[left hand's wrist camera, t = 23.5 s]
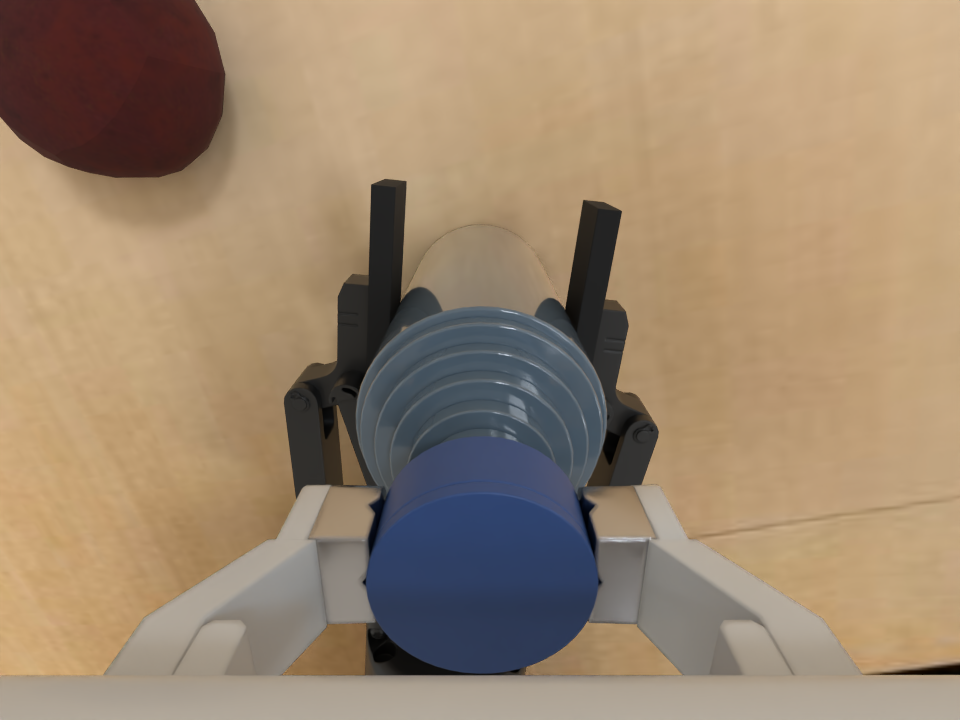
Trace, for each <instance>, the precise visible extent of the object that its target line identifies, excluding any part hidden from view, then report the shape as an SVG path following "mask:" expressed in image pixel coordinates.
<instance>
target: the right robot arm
mask: <svg viewBox="0 0 960 720" xmlns="http://www.w3.org/2000/svg"><path fill="white" fill-rule="evenodd" d="M406 182H407V181H399V180H390V179H384V180H382V181H379V182H377V183H374V184H372V185H371V214H370V249H369V276H367V275H357V274H352V275H351V276H350V277H349V278H348V280H347V281H346V282H345V283H344V284H343V286H342V289H341V291H340V293H339V296H338V352H337V361H335V362H333V363H329V364H325V365H324V364H321V363H314V364H311V365H309V366H308V367H307V368H306V369H305V370H304V372H303V373H302V374H301V375H300V377H299V378H298V379H297V381H296V382H295V383H294V384H293V386H292V387H291V388H290V390H289V391H288V392H287V394H286V396H285V398H284V406H285V414H286V422H287V430H288V438H289V446H290V454H291V462H292V469H293V477H294V485H295V493H296V499H297V497H298V495H299V493H300V492H301V490H302V488H303V487H305V486H306V485H332V486H333V485H343V476H342V465H341V454H340V442H339V431H338V420H337V408H336V405H338V406H339V408H340V411H341V414H342V417H343V420H344V422H345V425H346V428H347V431H348V434H349V436H350V439H351V442H352V445H353V448H354V450H355V453H356V456H357V459H358V462H359V464H360V467H361V470H362V473H363V476H364V478H365V481H366V484H367V486H377V484H376V483H375V481H374V480H373V478H372V476H371V474H370V472H369V470H368V468H367V465H366V462H365V459H364V457H363V455H362V451H361V448H360V445H359V442H358V437H357V431H356V405H357V398H358V394H359V391H360V387H361V384H362V381H363V379H364V377H365V375H366V372H367V370H368V368H369V366H370V364H371V362H372V360H373V358H374V356H375V354H376V352H377V350H378V348H379V346H380V344H381V341H382V339H383V337H384V335H385V333H386V331H387V329H388V327H389V325H390V323H391V321H392V319H393V317H394V315H395V313H396V311H397V309H398V307H399V305H400V301H401V282H402V262H403V242H404V222H405V202H406ZM621 213H622V211H621V210H619V209H617V208H615V207H612V206H610V205H608V204H606V203H604V202H597V201H587V200H583V205H582V211H581V218H580V224H579V230H578V236H577V242H576V248H575V254H574V260H573V266H572V272H571V278H570V284H569V290H568V296H567V302H566V308H565V311H566V313H567V315H568V317H569V319H570V321H571V323H572V325H573V327H574V329H575V331H576V333H577V335H578V337H579V339H580V341H581V343H582V345H583V347H584V349H585V351H586V353H587V355H588V357H589V359H590V361H591V363H592V365H593V367H594V369H595V371H596V373H597V375H598V377H599V380H600V382H601V385H602V388H603V392H604V395H605V401H606V408H607V428H606V434H605V441H604V444H603V447H602V450H601V453H600V456H599V458H598V461H597V464H596V466H595V469H594V471H593V473H592V475H591V477H590V479H589V480H588V483H587V487H595V486H631V485H641V484H642V481H643V479H644V476H645V473H646V470H647V467H648V464H649V461H650V459H651V456H652V453H653V450H654V447H655V444H656V441H657V439H658V433H659V431H658V429H657V426H656V424H655V423H654V421H653V420H652V418H651V416H650V415H649V413H648V411H647V410H646V408H645V407H644V405H643V403H642V402H641V400H640V398H639V397H638V396H637V395H635V394H633V393H623V392H621V391H619V390H617V389H616V383H617V378H618V373H619V369H620V364H621V359H622V354H623V350H624V345H625V340H626V335H627V331H628V326H629V325H628V320H627V315H626V311H625V310H624V309H623V308H622V307H621V305H620V304H619V303H618V302H617V301H615V300H605V297H606V292H607V287H608V281H609V276H610V271H611V266H612V260H613V255H614V250H615V245H616V239H617V234H618V229H619V224H620V218H621ZM366 626H367V630H366V659H365V675H525V672H526V667H523V668H520V669H516V670H512V671H507V672H499V673H481V674H476V673H464V672H458V671H452V670H448V669H444V668H441V667H437V666H434V665H432V664H429V663H427V662H424V661H422V660H420V659H418V658H416V657H414V656H412V655H411V654H409V653H408V652H406V651H405V650H403V649H402V648H400V647H399V646H398V645H397V644H396V643H395V642H394V641H392V640H391V639H390V638H389V636H388V635H387V634H386V633H385V632H384V631H383V630H382V628H381V627H380V625H379V624H378V622H377V621H376V622H375V623H366Z"/></svg>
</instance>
